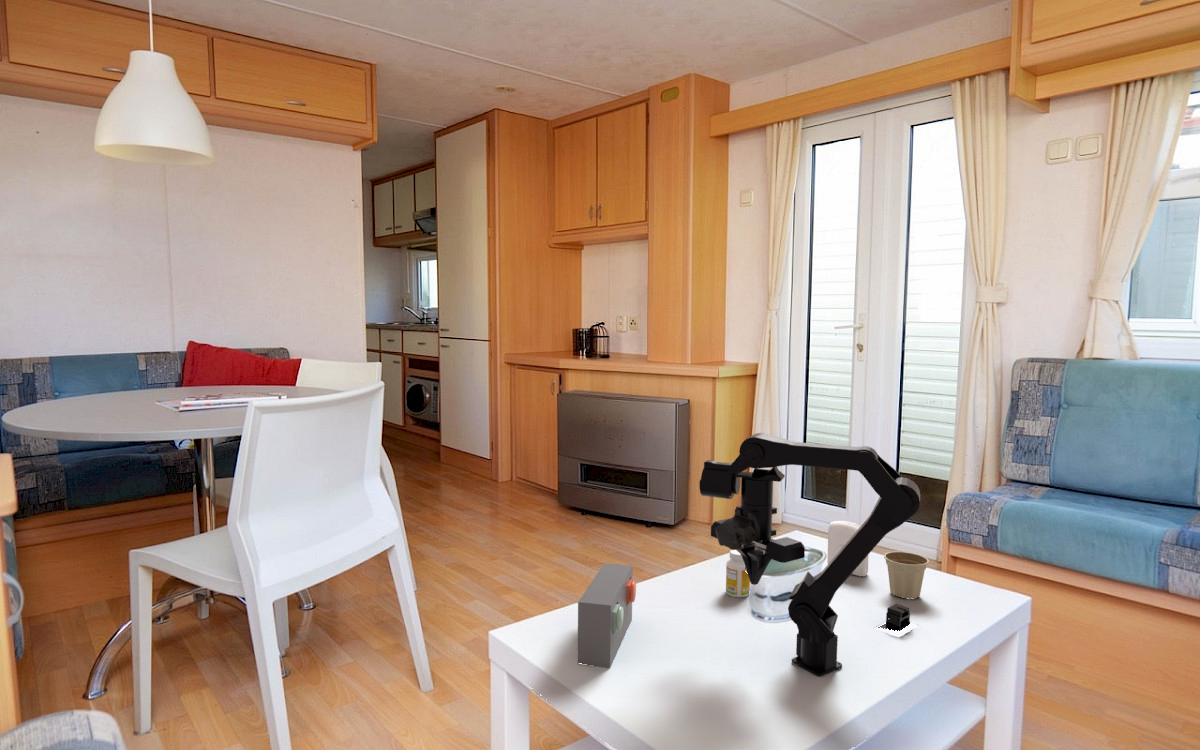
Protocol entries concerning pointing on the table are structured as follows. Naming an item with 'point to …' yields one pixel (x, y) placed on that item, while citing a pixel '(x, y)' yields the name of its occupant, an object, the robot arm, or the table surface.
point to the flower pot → (905, 573)
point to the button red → (631, 591)
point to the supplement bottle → (736, 576)
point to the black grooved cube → (897, 617)
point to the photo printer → (844, 542)
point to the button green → (617, 617)
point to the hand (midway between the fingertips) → (754, 584)
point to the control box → (603, 615)
